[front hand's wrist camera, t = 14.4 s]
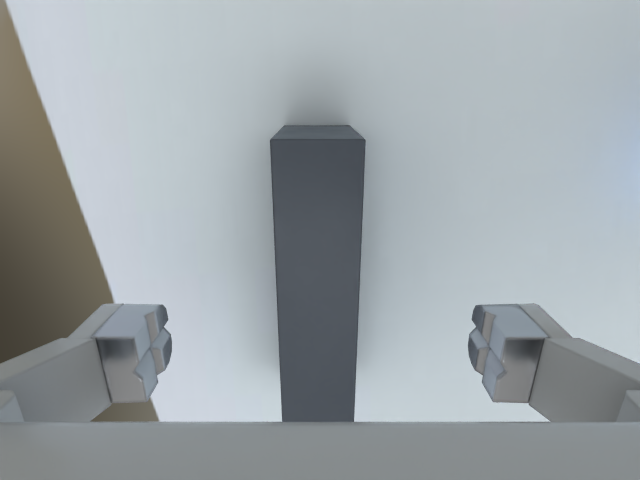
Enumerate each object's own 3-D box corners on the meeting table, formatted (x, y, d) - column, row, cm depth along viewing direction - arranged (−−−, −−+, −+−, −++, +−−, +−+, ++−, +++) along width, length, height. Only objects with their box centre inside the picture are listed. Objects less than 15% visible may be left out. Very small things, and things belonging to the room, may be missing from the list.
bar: (283, 125, 29) (269, 139, 20) (350, 125, 29) (365, 139, 20) (291, 374, 37) (283, 462, 28) (343, 374, 37) (352, 461, 29)
